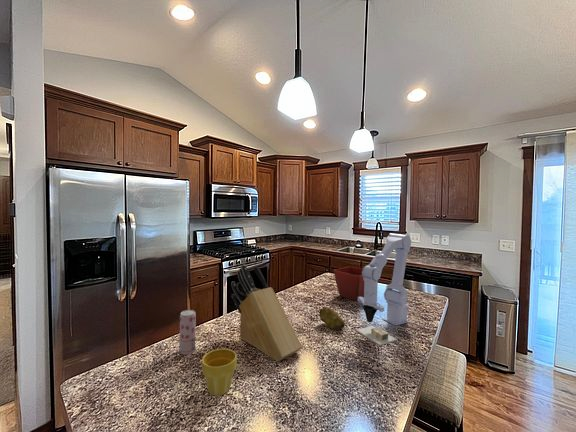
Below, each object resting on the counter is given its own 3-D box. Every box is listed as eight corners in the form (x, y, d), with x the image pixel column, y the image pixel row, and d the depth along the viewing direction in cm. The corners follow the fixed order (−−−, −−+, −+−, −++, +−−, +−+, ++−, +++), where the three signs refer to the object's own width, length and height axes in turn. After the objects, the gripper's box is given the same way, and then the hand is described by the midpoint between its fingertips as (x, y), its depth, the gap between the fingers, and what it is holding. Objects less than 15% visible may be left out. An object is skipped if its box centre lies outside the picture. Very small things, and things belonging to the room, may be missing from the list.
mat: (372, 326, 124) (372, 325, 124) (396, 340, 112) (396, 339, 112) (356, 331, 120) (356, 329, 120) (379, 345, 107) (379, 344, 107)
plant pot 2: (349, 289, 180) (350, 265, 180) (374, 297, 166) (375, 271, 166) (332, 295, 167) (333, 269, 167) (358, 304, 153) (359, 276, 153)
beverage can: (179, 348, 102) (179, 310, 101) (195, 345, 104) (195, 308, 103) (179, 356, 96) (179, 316, 96) (195, 353, 98) (196, 314, 98)
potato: (332, 334, 116) (332, 316, 116) (316, 322, 128) (316, 306, 127) (346, 330, 120) (347, 313, 120) (330, 319, 132) (330, 303, 131)
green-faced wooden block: (377, 327, 117) (388, 333, 112) (377, 332, 117) (388, 338, 112) (371, 329, 115) (381, 335, 110) (371, 334, 115) (381, 340, 110)
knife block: (248, 323, 124) (249, 259, 123) (303, 354, 99) (305, 274, 98) (227, 331, 116) (228, 262, 115) (281, 366, 92) (283, 279, 91)
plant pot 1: (205, 377, 85) (206, 348, 84) (237, 376, 86) (238, 347, 85) (197, 401, 74) (197, 367, 74) (234, 399, 75) (234, 366, 75)
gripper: (353, 288, 123) (352, 317, 124) (376, 298, 111) (375, 330, 111) (364, 287, 127) (363, 314, 127) (388, 296, 114) (387, 326, 114)
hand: (369, 321), depth 119 cm, fingers closed
